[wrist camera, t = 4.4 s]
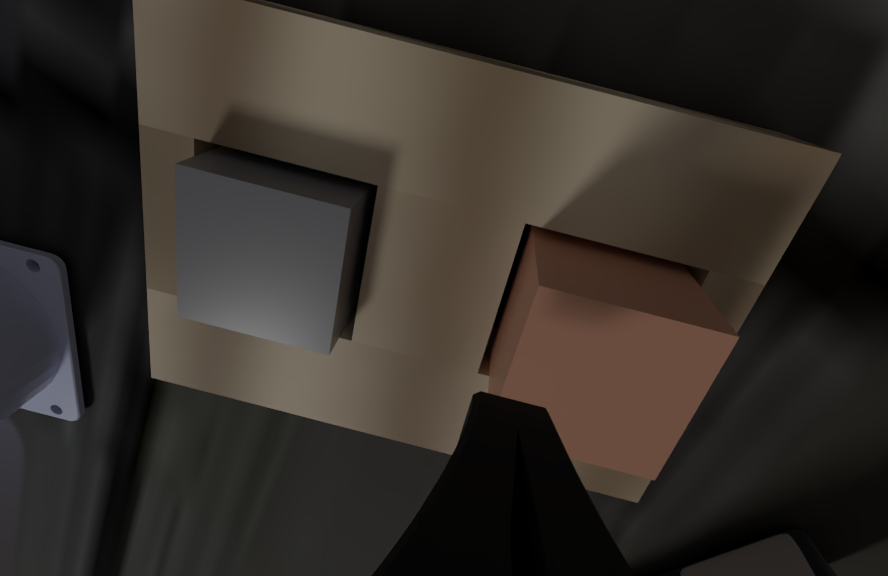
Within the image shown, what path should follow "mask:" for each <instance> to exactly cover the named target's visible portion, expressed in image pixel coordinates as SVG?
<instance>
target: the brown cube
mask: <svg viewBox="0 0 888 576" xmlns="http://www.w3.org/2000/svg"><path fill="white" fill-rule="evenodd" d="M738 339H739V336H738V335H737V333H736V332H735V331H734V329H733V328H732V327H731V326H730V324H729V323H728V322H727V320H726V319H725V318H724V316H723V315H722V314H721V313H720V311H719V310H718V309H717V307H716V306H715V305H714V304H713V302H712V301H711V300H710V298H709V297H708V296H707V294H706V293H705V292H704V291H703V289H702V288H701V287H700V285H699V284H698V283H697V282H696V280H695V279H694V278H693V276H692V275H691V274H690V272H689V271H688V270H687V269H686V267H685V266H684V265H683V264H682V263H678V262H674V261H670V260H666V259H662V258H658V257H654V256H650V255H647V254H643V253H639V252H635V251H631V250H627V249H623V248H619V247H615V246H612V245H608V244H604V243H600V242H596V241H592V240H588V239H584V238H580V237H577V236H573V235H569V234H565V233H561V232H557V231H553V230H549V229H545V228H541V227H538V226H534V225H531V227H530V231H529V234H528V237H527V240H526V243H525V246H524V249H523V252H522V255H521V258H520V261H519V264H518V267H517V271H516V274H515V277H514V280H513V283H512V286H511V289H510V292H509V295H508V298H507V301H506V304H505V307H504V310H503V314H502V317H501V320H500V323H499V326H498V329H497V332H496V335H495V338H494V341H493V344H492V347H491V352H490V369H489V386H488V393H490V394H494V395H498V396H501V397H505V398H509V399H513V400H517V401H521V402H525V403H529V404H533V405H536V406H540V407H544V408H546V409H547V411H548V413H549V415H550V417H551V419H552V421H553V423H554V425H555V428H556V430H557V432H558V434H559V436H560V438H561V440H562V443H563V445H564V447H565V449H566V451H567V453H568V455H569V457H570V459H573V460H577V461H581V462H585V463H589V464H593V465H597V466H601V467H604V468H608V469H612V470H616V471H620V472H624V473H628V474H632V475H635V476H639V477H643V478H647V479H651V480H655V479H656V478H657V476H658V474H659V473H660V471H661V469H662V467H663V466H664V464H665V462H666V461H667V459H668V457H669V456H670V454H671V452H672V451H673V449H674V447H675V445H676V444H677V442H678V440H679V439H680V437H681V435H682V434H683V432H684V430H685V429H686V427H687V425H688V423H689V422H690V420H691V418H692V417H693V415H694V413H695V412H696V410H697V408H698V407H699V405H700V403H701V401H702V400H703V398H704V396H705V395H706V393H707V391H708V390H709V388H710V386H711V385H712V383H713V381H714V379H715V378H716V376H717V374H718V373H719V371H720V369H721V368H722V366H723V364H724V363H725V361H726V359H727V357H728V356H729V354H730V352H731V351H732V349H733V347H734V346H735V344H736V342H737V340H738Z"/></svg>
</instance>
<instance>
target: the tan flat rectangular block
mask: <svg viewBox="0 0 888 576" xmlns="http://www.w3.org/2000/svg"><path fill="white" fill-rule="evenodd" d="M133 19H134V39H135V59H136V79H137V99H138V119H139V139H140V159H141V179H142V199H143V220H144V240H145V260H146V280H147V300H148V320H149V340H150V360H151V377H152V378H155V379H159V380H163V381H167V382H171V383H175V384H179V385H183V386H187V387H190V388H194V389H198V390H202V391H206V392H210V393H214V394H218V395H221V396H225V397H229V398H233V399H237V400H241V401H245V402H249V403H252V404H256V405H260V406H264V407H268V408H272V409H276V410H280V411H283V412H287V413H291V414H295V415H299V416H303V417H307V418H311V419H315V420H318V421H322V422H326V423H330V424H334V425H338V426H342V427H346V428H349V429H353V430H357V431H361V432H365V433H369V434H373V435H377V436H380V437H384V438H388V439H392V440H396V441H400V442H404V443H408V444H412V445H415V446H419V447H423V448H427V449H431V450H435V451H439V452H443V453H446V454H450V455H452V454H453V452H454V450H455V448H456V446H457V444H458V440H459V437H460V434H461V431H462V428H463V424H464V421H465V418H466V415H467V412H468V408H469V405H470V402H471V399H472V396H473V394H475V393H477V392H480V391H482V392H486V393H488V386H489V369H490V352H491V347H492V344H493V341H494V338H495V335H496V332H497V329H498V328H494V327H492V326H493V323H494V320H495V317H496V314H497V311H498V308H499V305H500V301H501V298H502V295H503V292H504V289H505V286H506V283H507V279H508V276H509V273H510V270H511V267H512V264H513V261H514V257H515V254H516V251H517V248H518V245H519V242H520V239H521V236H522V232H523V229H524V226H525V223H526V224H530V225H534V226H538V227H541V228H545V229H549V230H553V231H557V232H561V233H565V234H569V235H573V236H577V237H580V238H584V239H588V240H592V241H596V242H600V243H604V244H608V245H612V246H615V247H619V248H623V249H627V250H631V251H635V252H639V253H643V254H647V255H650V256H654V257H658V258H662V259H666V260H670V261H674V262H678V263H682V264H683V265H684V266H685V267H686V269H687V270H688V271H689V272H690V274H691V275H692V276H693V278H694V279H695V280H696V282H697V283H698V284H699V285H700V287H701V288H702V289H703V291H704V292H705V293H706V294H707V296H708V297H709V298H710V300H711V301H712V302H713V304H714V305H715V306H716V307H717V309H718V310H719V311H720V313H721V314H722V315H723V316H724V318H725V319H726V320H727V322H728V323H729V324H730V326H731V327H732V328H733V329H734V331H735V332H736V333H737V332H738V331H739V329H740V327H741V325H742V324H743V322H744V320H745V319H746V317H747V315H748V314H749V312H750V310H751V308H752V307H753V305H754V303H755V302H756V300H757V298H758V296H759V295H760V293H761V291H762V290H763V288H764V286H765V285H766V283H767V281H768V279H769V278H770V276H771V274H772V273H773V271H774V269H775V267H776V266H777V264H778V262H779V261H780V259H781V257H782V255H783V254H784V252H785V250H786V249H787V247H788V245H789V244H790V242H791V240H792V238H793V237H794V235H795V233H796V232H797V230H798V228H799V226H800V225H801V223H802V221H803V220H804V218H805V216H806V214H807V213H808V211H809V209H810V208H811V206H812V204H813V203H814V201H815V199H816V197H817V196H818V194H819V192H820V191H821V189H822V187H823V185H824V184H825V182H826V180H827V179H828V177H829V175H830V174H831V172H832V170H833V168H834V167H835V165H836V163H837V162H838V160H839V158H840V156H841V155H842V154H841V153H838V152H835V151H832V150H829V149H826V148H823V147H821V146H818V145H815V144H812V143H809V142H806V141H803V140H800V139H797V138H795V137H792V136H789V135H786V134H783V133H780V132H776V131H772V130H768V129H764V128H760V127H757V126H753V125H749V124H745V123H741V122H737V121H733V120H729V119H725V118H721V117H718V116H714V115H710V114H706V113H702V112H698V111H694V110H690V109H686V108H683V107H679V106H675V105H671V104H667V103H663V102H659V101H655V100H651V99H647V98H644V97H640V96H636V95H632V94H628V93H624V92H620V91H616V90H612V89H608V88H605V87H601V86H597V85H593V84H589V83H585V82H581V81H577V80H573V79H569V78H566V77H562V76H558V75H554V74H550V73H546V72H542V71H538V70H534V69H530V68H527V67H523V66H519V65H515V64H511V63H507V62H503V61H499V60H495V59H491V58H488V57H484V56H480V55H476V54H472V53H468V52H464V51H460V50H456V49H452V48H449V47H445V46H441V45H437V44H433V43H429V42H425V41H421V40H417V39H413V38H410V37H406V36H402V35H398V34H394V33H390V32H386V31H382V30H378V29H374V28H371V27H367V26H363V25H359V24H355V23H351V22H347V21H343V20H339V19H335V18H332V17H328V16H324V15H320V14H316V13H312V12H308V11H304V10H300V9H296V8H293V7H289V6H285V5H281V4H277V3H273V2H269V1H265V0H133ZM220 146H226V147H230V148H234V149H238V150H242V151H246V152H250V153H254V154H257V155H261V156H265V157H269V158H273V159H277V160H281V161H285V162H289V163H292V164H296V165H300V166H304V167H308V168H312V169H316V170H320V171H324V172H327V173H331V174H335V175H339V176H343V177H347V178H351V179H355V180H359V181H362V182H366V183H370V184H374V185H378V188H377V194H376V200H375V206H374V212H373V218H372V224H371V229H370V235H369V241H368V247H367V253H366V259H365V265H364V270H363V276H362V282H361V288H360V294H359V300H358V305H357V307H356V309H355V311H354V312H353V314H352V316H351V318H350V320H349V321H348V323H347V325H346V327H345V328H344V330H343V332H342V334H341V335H340V337H339V339H338V341H337V342H336V344H335V346H334V348H333V349H332V351H331V353H330V355H326V354H322V353H318V352H314V351H310V350H306V349H302V348H298V347H295V346H291V345H287V344H283V343H279V342H275V341H271V340H267V339H263V338H260V337H256V336H252V335H248V334H244V333H240V332H236V331H232V330H229V329H225V328H221V327H217V326H213V325H209V324H205V323H201V322H197V321H194V320H190V319H186V318H182V317H178V316H177V268H176V215H175V163H177V162H180V161H183V160H185V159H188V158H191V157H193V156H196V155H199V154H202V153H204V152H207V151H210V150H212V149H215V148H218V147H220ZM571 461H572V463H573V465H574V467H575V470H576V472H577V473H578V475H579V477H580V479H581V481H582V483H583V485H584V487H585V489H586V490H590V491H594V492H598V493H602V494H605V495H609V496H613V497H617V498H621V499H625V500H629V501H633V502H637V503H638V501H639V500H640V498H641V496H642V495H643V493H644V491H645V489H646V488H647V486H648V484H649V483H650V481H651V479H647V478H643V477H639V476H635V475H632V474H628V473H624V472H620V471H616V470H612V469H608V468H604V467H601V466H597V465H593V464H589V463H585V462H581V461H577V460H573V459H571Z"/></svg>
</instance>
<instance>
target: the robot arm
mask: <svg viewBox="0 0 888 576" xmlns="http://www.w3.org/2000/svg"><path fill="white" fill-rule="evenodd" d="M36 262H37V263H38V264H39V266H38V265H37V264H36ZM19 408H22V409H26V410H30V411H34V412H38V413H42V414H46V415H50V416H53V417H57V418H61V419H65V420H69V421H76V420H78V419H79V418H80V417H81V416H83V414H84V413H85V407H84V399H83V391H82V384H81V376H80V368H79V361H78V353H77V345H76V338H75V330H74V322H73V314H72V307H71V299H70V291H69V284H68V276H67V269H66V266H65V263H64V262H63V260H62V259H61V258H59V257H58V256H56V255H54V254H52V253H48V252H44V251H40V250H36V249H32V248H28V247H24V246H21V245H17V244H13V243H9V242H5V241H1V240H0V422H1V421H3V420H4V419H5V418H7V417H8V416H9V415H11V414H12V413H13V412H15V411H16V410H17V409H19ZM372 576H635V575H634V573H633V572H632V570H631V568H630V567H629V565H628V563H627V562H626V560H625V558H624V557H623V555H622V553H621V552H620V550H619V548H618V547H617V545H616V543H615V542H614V540H613V538H612V537H611V535H610V533H609V531H608V530H607V528H606V526H605V524H604V522H603V521H602V519H601V517H600V515H599V513H598V511H597V510H596V508H595V506H594V504H593V502H592V500H591V498H590V497H589V495H588V493H587V491H586V489H585V487H584V485H583V483H582V481H581V479H580V477H579V475H578V473H577V472H576V470H575V467H574V465H573V463H572V461H571V459H570V457H569V455H568V453H567V451H566V449H565V447H564V445H563V443H562V440H561V438H560V436H559V434H558V432H557V430H556V428H555V425H554V423H553V421H552V419H551V417H550V415H549V413H548V411H547V409H546V408H544V407H540V406H536V405H533V404H529V403H525V402H521V401H517V400H513V399H509V398H505V397H501V396H498V395H494V394H490V393H486V392H482V391H480V392H477V393H475V394H473V396H472V399H471V402H470V405H469V408H468V412H467V415H466V418H465V421H464V424H463V428H462V431H461V434H460V437H459V440H458V444H457V446H456V448H455V450H454V452H453V454H452V456H451V458H450V460H449V462H448V464H447V466H446V467H445V469H444V471H443V473H442V475H441V476H440V478H439V480H438V481H437V483H436V484H435V486H434V488H433V489H432V491H431V493H430V494H429V496H428V497H427V499H426V501H425V502H424V504H423V505H422V507H421V509H420V510H419V512H418V513H417V515H416V516H415V518H414V519H413V521H412V522H411V524H410V525H409V526H408V528H407V529H406V531H405V532H404V534H403V535H402V536H401V538H400V539H399V540H398V542H397V543H396V545H395V546H394V547H393V549H392V550H391V551H390V553H389V554H388V555H387V557H386V558H385V559H384V561H383V562H382V563H381V565H380V566H379V567H378V568H377V570H376V571H375V572H374V573H373V575H372Z"/></svg>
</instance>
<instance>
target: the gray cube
mask: <svg viewBox="0 0 888 576" xmlns="http://www.w3.org/2000/svg"><path fill="white" fill-rule="evenodd" d="M377 188H378V185H374V184H370V183H366V182H362V181H359V180H355V179H351V178H347V177H343V176H339V175H335V174H331V173H327V172H324V171H320V170H316V169H312V168H308V167H304V166H300V165H296V164H292V163H289V162H285V161H281V160H277V159H273V158H269V157H265V156H261V155H257V154H254V153H250V152H246V151H242V150H238V149H234V148H230V147H226V146H220V147H218V148H215V149H212V150H210V151H207V152H204V153H202V154H199V155H196V156H193V157H191V158H188V159H185V160H183V161H180V162H177V163H175V215H176V268H177V316H178V317H182V318H186V319H190V320H194V321H197V322H201V323H205V324H209V325H213V326H217V327H221V328H225V329H229V330H232V331H236V332H240V333H244V334H248V335H252V336H256V337H260V338H263V339H267V340H271V341H275V342H279V343H283V344H287V345H291V346H295V347H298V348H302V349H306V350H310V351H314V352H318V353H322V354H326V355H330V353H331V351H332V349H333V348H334V346H335V344H336V342H337V341H338V339H339V337H340V335H341V334H342V332H343V330H344V328H345V327H346V325H347V323H348V321H349V320H350V318H351V316H352V314H353V312H354V311H355V309H356V307H357V305H358V300H359V294H360V288H361V282H362V276H363V270H364V265H365V259H366V253H367V247H368V241H369V235H370V229H371V224H372V218H373V212H374V206H375V200H376V194H377Z"/></svg>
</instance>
